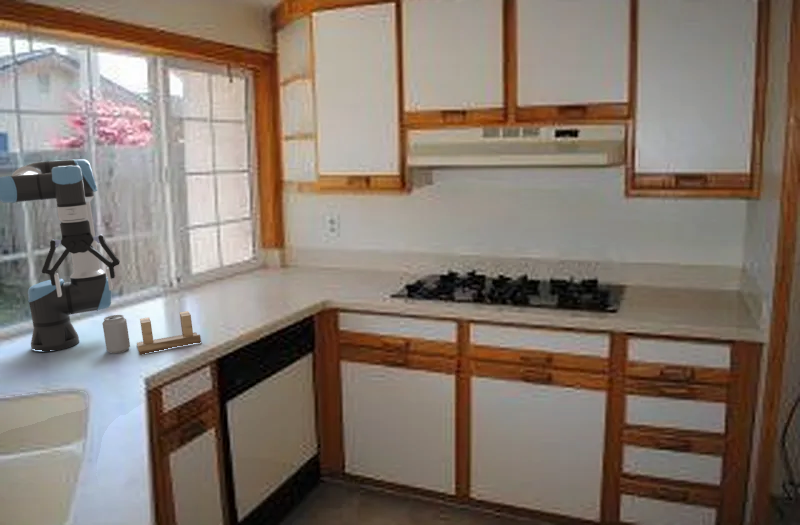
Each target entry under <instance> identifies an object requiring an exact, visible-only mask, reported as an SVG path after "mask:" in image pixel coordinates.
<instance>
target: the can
mask: <svg viewBox="0 0 800 525" xmlns="http://www.w3.org/2000/svg"><path fill="white" fill-rule="evenodd" d="M124 316H125V315H123V314H112V315H108V316H105V317H104V318H103V322H102V328H103V335H104V336H103V337H104V342H105V349H106V351H107V352H108V353H110V354H121V353H124V352H126V351H128V350H129V348H130V347H131V342H130V336H129V329H128V323H127V319H126V318H125V317H124Z"/></svg>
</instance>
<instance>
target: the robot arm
mask: <svg viewBox="0 0 800 525" xmlns="http://www.w3.org/2000/svg"><path fill="white" fill-rule="evenodd" d="M97 191H98V187H97V183H96V180H95V177H94V173H93V170H92V166H91V164H90V162H89V161H88V160H87V159H79V158H73V159H64V160H63V159H61V160H47V161H43V160H42V161H37V162H36V161H35V162H31V163H28V164H26V165H23V166H21V167H19V168H17V169H16V170H15V171H13V173H12V175H6V176H5V175H4V176H0V202H1V203H3V204H5V203H6V204H7V203H9V204H10V203H12V204H16V203H21V202H33V201H43V200H56V208H57V214H58V220H59V221H60V223H59V227H60V232H61V239H55V238H52V239H51V240H50V241H49V244H50V245H49V251H48V254H47V256H46V259H45V261H44V265H43V267H42V269H41V274H47V275H49V278H50V279H48V280H44V281H41V282H38V283H35V284H33V285H31V286H30V287H29V288H28V290H27V296H28V298H27V299H28V300H27V301H28V303H29V308H30V315H31V320H32V325H33V329H32V330H33V331H32V336H31V341H30V346H31V347H30V348H31V350H32V349H35V350H42V351H50V350H58V351H62V350H66V349H68V348H71V347H74V346H76V345H77V344H79V342H80V338H79V335H78V333H77V331H76V329H75V327H74V325H73V323H72V322H71V318H70V315H76V314H83V313H89V312H95V311H96V312H98V311H102V310H105V309H108V308H110V307H111V305H112V291H113V290H114V289H113V288H114V287H113V281H112V279H115V277H116V275H115V273H116V272H115V267H117V266H120V260H119V258H118V257H117V256H116V254H115V252H114V251H113V250H112V248H110V245H109V244H108V243H107V242H106V241H105V237H104V234H102V233H100V234H98V235H96V232H95V225H94V219H93V211H92V205H91V201H93V199H94V197H95V196H94V193H96V192H97ZM97 243H98V244H100V246H101V247H102V248H103V250H104V251H105V253H106V254H107V255H108V257H109V258H110V259H111V260H110V259H108V258H107V257H106V256H105V255H104V254H102V253H101V252H100V251H99V250H98V244H97ZM60 244H61V245H62V246H63V247H64V248H65V249H64V251H63V252H62V254H61V255H60V256H59V258H58V260H57V261H56V262H55V264H54V265H53V266H52V268H50V266H51V264H52V260H53V257H54V255H55V253H56V250H57V248H59V246H60ZM69 253H70V255H71V261H72V266H73V272H72V274H70V276H69V278H70V281H65V280H64V279H63V278H60V275H59V273H58V272H57V270H58V269H59V268H60V266H61V265H62V263H63V262H64V261H65V259H66V257H67V256H68V255H69ZM100 262H102V263H103V264H104V265H106V266H107V267H106V268H105V269H106V271H105V270H103V268H101V265H100V264H101V263H100ZM61 349H62V350H61Z"/></svg>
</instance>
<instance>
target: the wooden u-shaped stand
mask: <svg viewBox="0 0 800 525" xmlns="http://www.w3.org/2000/svg"><path fill="white" fill-rule="evenodd" d="M179 319H180V327H181V334H179V335H173V336H168V337H161V338H155V339H154V336H153V335H154V334H153V329H152V321H151V318H150V317H145V318H139V321H140V328H141V337H142V341H140V342H136V346H137V351H138V355H139V356H143V355H142V354H144V355H146V354H145V353H149V352H154V351H159V350H164V349H168V348H172V347H177V346H183V345H188V344H193V343H200V342H201V343H202V339H201V337H202V336H201V334H197V332H194V331H193V323H192V316H191V313H190V311H189V310H187V311H181V312H179ZM149 354H150V353H149Z"/></svg>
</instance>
